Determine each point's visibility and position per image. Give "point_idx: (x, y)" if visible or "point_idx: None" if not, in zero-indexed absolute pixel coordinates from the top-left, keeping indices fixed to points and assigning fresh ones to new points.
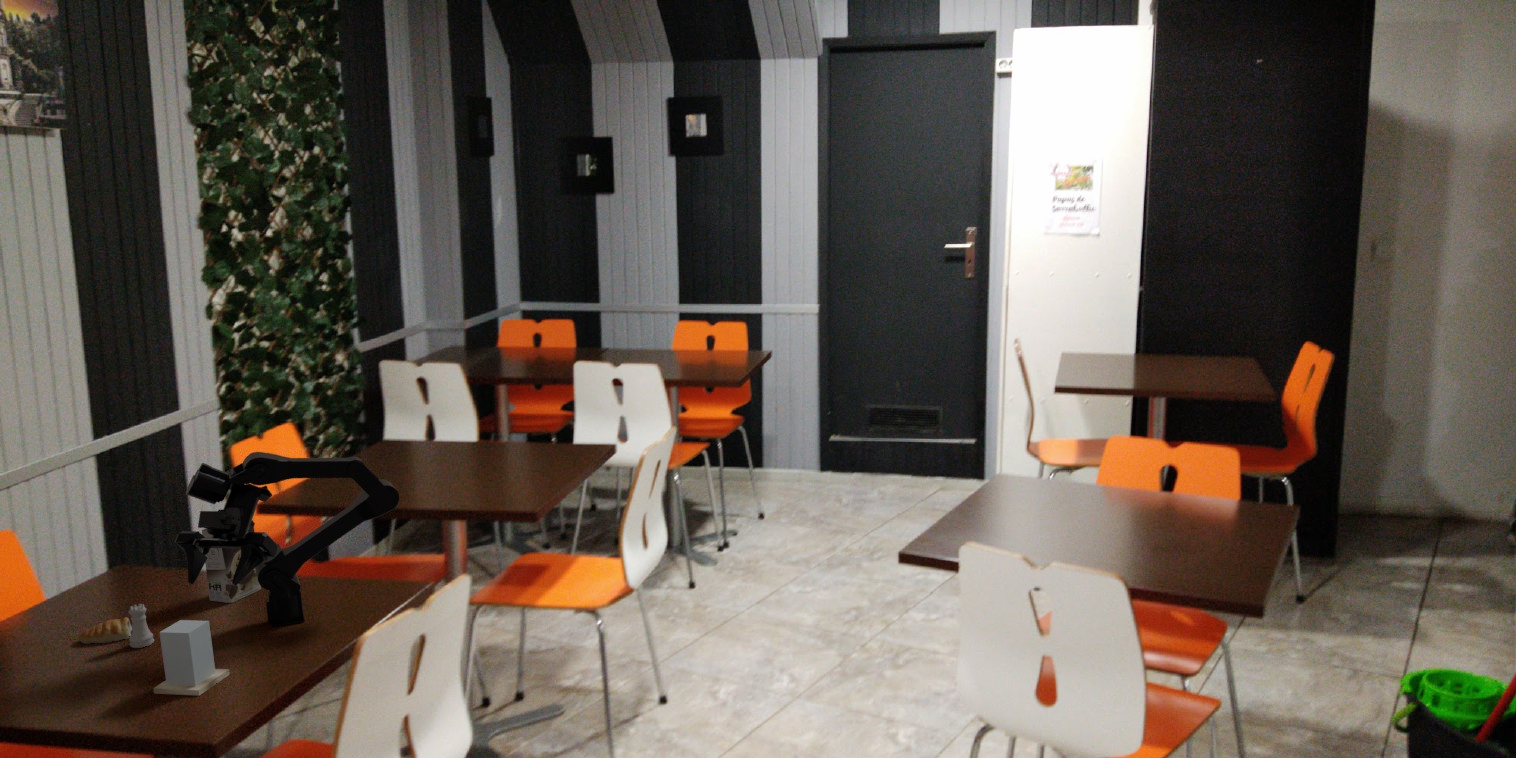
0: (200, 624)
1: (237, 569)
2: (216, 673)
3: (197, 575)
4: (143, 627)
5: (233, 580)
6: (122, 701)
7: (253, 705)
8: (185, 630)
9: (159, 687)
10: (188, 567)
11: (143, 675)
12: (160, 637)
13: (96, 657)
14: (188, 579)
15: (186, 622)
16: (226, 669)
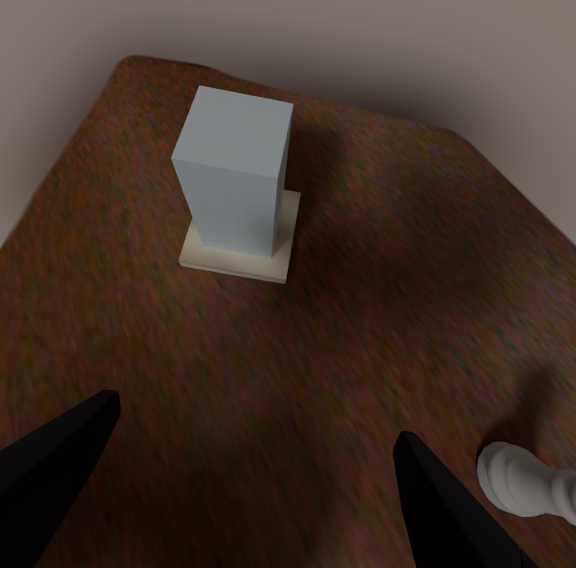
0: (189, 135)
1: (27, 454)
2: (199, 242)
3: (413, 540)
4: (528, 475)
5: (102, 398)
6: (339, 178)
7: (91, 138)
8: (218, 103)
9: (290, 194)
10: (496, 526)
11: (370, 279)
12: (291, 118)
13: (550, 389)
14: (421, 441)
15: (245, 156)
16: (184, 260)
